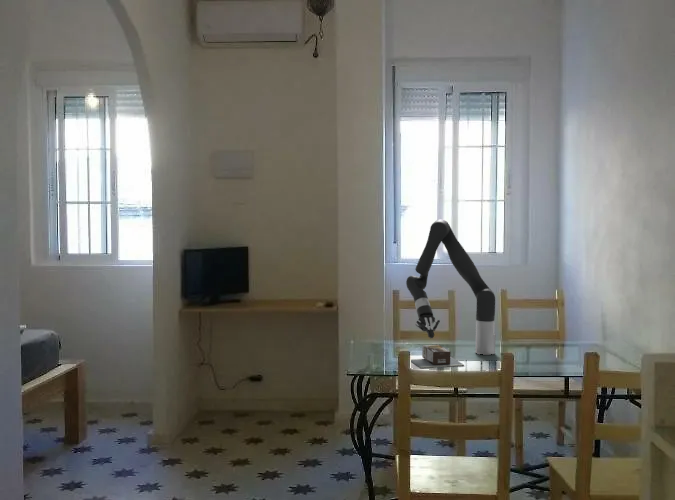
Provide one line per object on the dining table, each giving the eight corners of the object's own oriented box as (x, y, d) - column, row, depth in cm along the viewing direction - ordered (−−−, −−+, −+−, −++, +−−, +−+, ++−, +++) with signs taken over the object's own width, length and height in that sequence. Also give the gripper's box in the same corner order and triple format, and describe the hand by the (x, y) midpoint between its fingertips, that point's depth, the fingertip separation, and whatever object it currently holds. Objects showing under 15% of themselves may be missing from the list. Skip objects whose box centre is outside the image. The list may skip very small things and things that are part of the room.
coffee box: (422, 357, 383) (432, 365, 367) (422, 344, 382) (432, 352, 367) (439, 357, 385) (450, 364, 369) (439, 344, 384) (450, 351, 368)
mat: (451, 358, 384) (451, 357, 384) (464, 366, 369) (464, 364, 369) (409, 360, 379) (409, 359, 379) (420, 368, 364) (420, 367, 363)
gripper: (413, 305, 388) (421, 333, 378) (437, 304, 392) (446, 332, 381) (409, 313, 394) (417, 342, 383) (433, 312, 397) (442, 341, 387)
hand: (431, 337), depth 382 cm, fingers closed
